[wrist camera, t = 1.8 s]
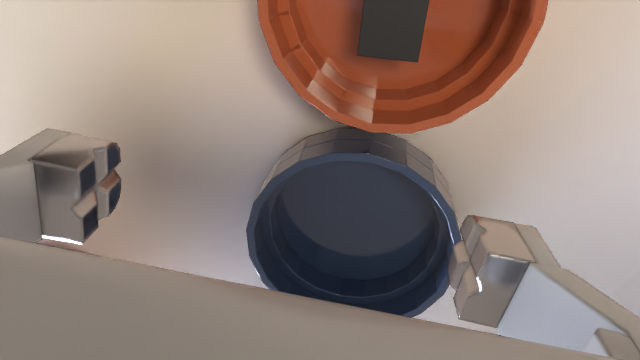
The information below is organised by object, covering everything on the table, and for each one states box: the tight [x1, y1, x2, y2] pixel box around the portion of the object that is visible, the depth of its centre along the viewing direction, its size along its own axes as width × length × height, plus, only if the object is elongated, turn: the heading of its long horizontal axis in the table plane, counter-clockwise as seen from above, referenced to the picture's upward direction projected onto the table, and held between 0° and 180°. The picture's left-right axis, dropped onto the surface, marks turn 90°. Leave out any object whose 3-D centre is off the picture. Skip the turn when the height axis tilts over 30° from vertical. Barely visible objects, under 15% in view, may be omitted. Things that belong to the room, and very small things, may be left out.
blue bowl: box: [246, 128, 462, 318], centre depth 35 cm, size 15×15×5 cm
